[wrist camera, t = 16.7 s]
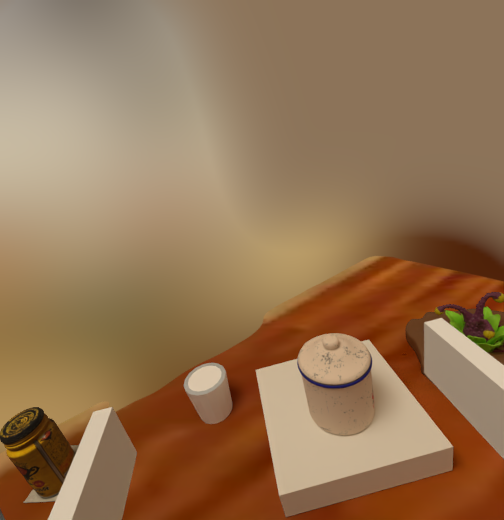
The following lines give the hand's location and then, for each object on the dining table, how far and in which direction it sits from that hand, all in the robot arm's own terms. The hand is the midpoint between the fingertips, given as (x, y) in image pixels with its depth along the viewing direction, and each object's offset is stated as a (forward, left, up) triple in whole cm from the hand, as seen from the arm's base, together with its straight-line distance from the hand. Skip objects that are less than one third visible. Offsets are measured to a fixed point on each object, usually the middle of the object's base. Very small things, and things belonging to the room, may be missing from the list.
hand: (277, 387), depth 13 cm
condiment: (-35, +26, -31) cm, 53 cm away
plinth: (+7, +22, -31) cm, 38 cm away
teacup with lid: (+7, +22, -27) cm, 35 cm away
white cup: (-11, +30, -31) cm, 44 cm away
